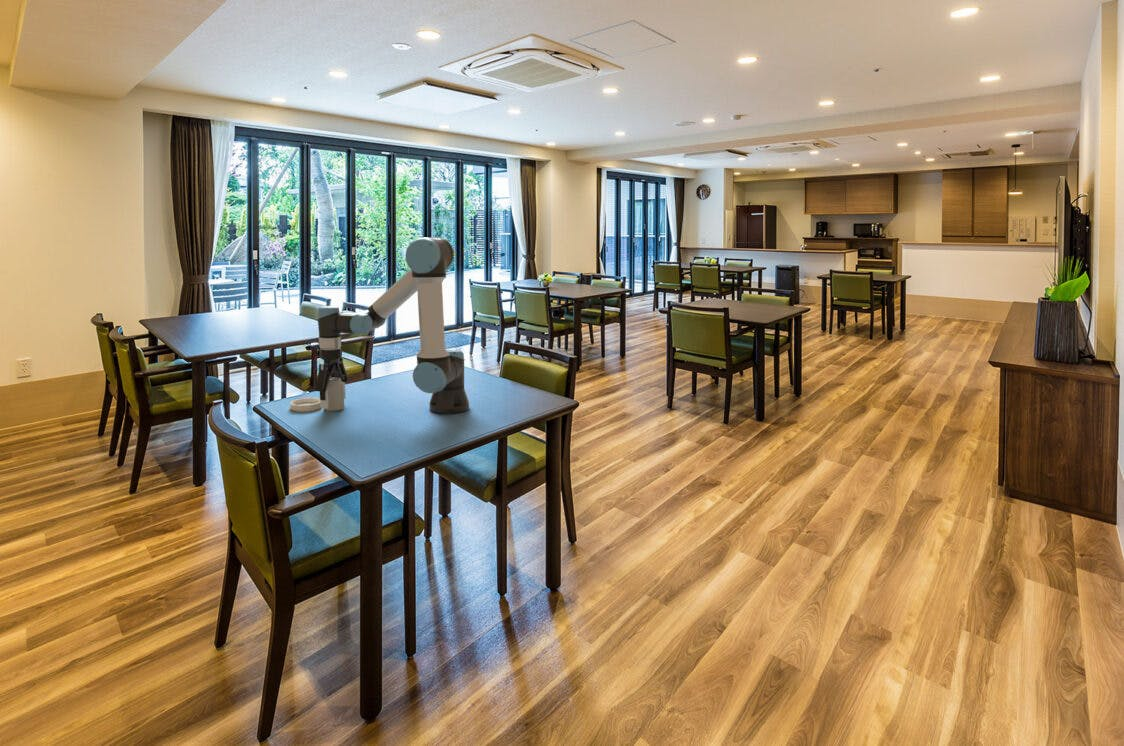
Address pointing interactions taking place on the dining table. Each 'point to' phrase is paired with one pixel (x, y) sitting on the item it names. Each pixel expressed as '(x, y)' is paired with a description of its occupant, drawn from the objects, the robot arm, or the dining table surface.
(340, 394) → the can
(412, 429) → the dining table surface
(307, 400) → the bowl
